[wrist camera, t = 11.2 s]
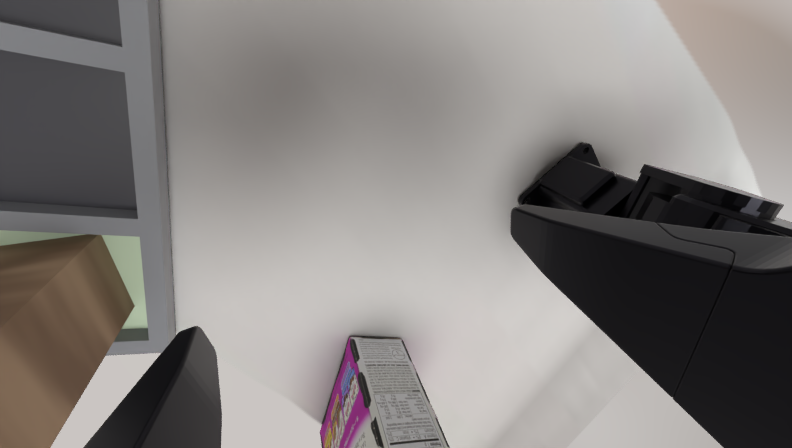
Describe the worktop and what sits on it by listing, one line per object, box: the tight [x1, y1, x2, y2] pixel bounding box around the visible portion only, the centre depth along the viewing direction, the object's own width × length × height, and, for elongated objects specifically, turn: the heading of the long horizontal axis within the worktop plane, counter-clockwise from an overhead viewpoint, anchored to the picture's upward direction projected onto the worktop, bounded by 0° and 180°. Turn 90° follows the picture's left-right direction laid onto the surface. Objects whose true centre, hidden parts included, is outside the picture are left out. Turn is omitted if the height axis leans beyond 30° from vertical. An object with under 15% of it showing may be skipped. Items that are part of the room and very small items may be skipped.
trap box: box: [0, 0, 176, 356], centre depth 15 cm, size 25×10×2 cm, turn 168°
